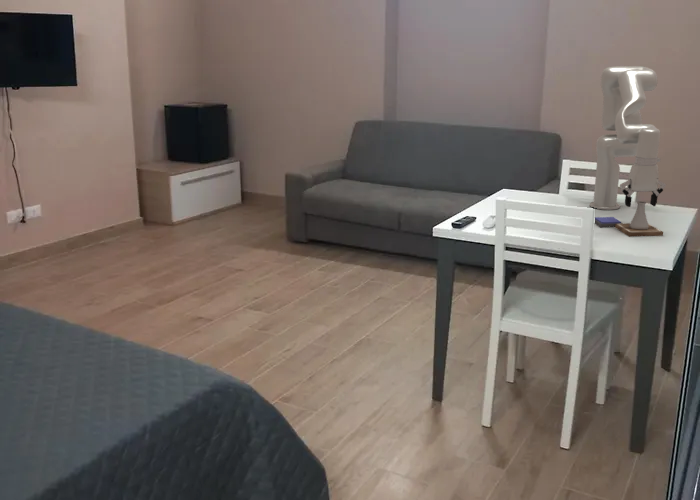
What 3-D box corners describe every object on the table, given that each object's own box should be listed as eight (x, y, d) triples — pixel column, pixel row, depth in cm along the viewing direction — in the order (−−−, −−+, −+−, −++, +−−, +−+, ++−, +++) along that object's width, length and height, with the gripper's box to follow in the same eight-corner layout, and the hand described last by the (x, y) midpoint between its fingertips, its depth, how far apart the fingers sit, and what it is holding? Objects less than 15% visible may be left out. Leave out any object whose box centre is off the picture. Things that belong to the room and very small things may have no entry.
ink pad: (591, 221, 289) (592, 217, 288) (613, 221, 289) (614, 216, 289) (600, 227, 280) (601, 222, 280) (623, 227, 281) (623, 222, 280)
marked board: (614, 227, 280) (615, 223, 280) (647, 226, 281) (647, 222, 280) (629, 236, 268) (629, 232, 267) (662, 235, 268) (663, 231, 268)
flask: (650, 230, 270) (653, 204, 267) (630, 229, 271) (632, 204, 268) (647, 225, 276) (649, 200, 274) (627, 224, 278) (629, 199, 275)
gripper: (663, 158, 270) (658, 202, 276) (619, 159, 270) (614, 203, 275) (673, 163, 263) (667, 207, 269) (627, 164, 263) (622, 209, 268)
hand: (640, 205), depth 272 cm, fingers open, 9 cm apart
